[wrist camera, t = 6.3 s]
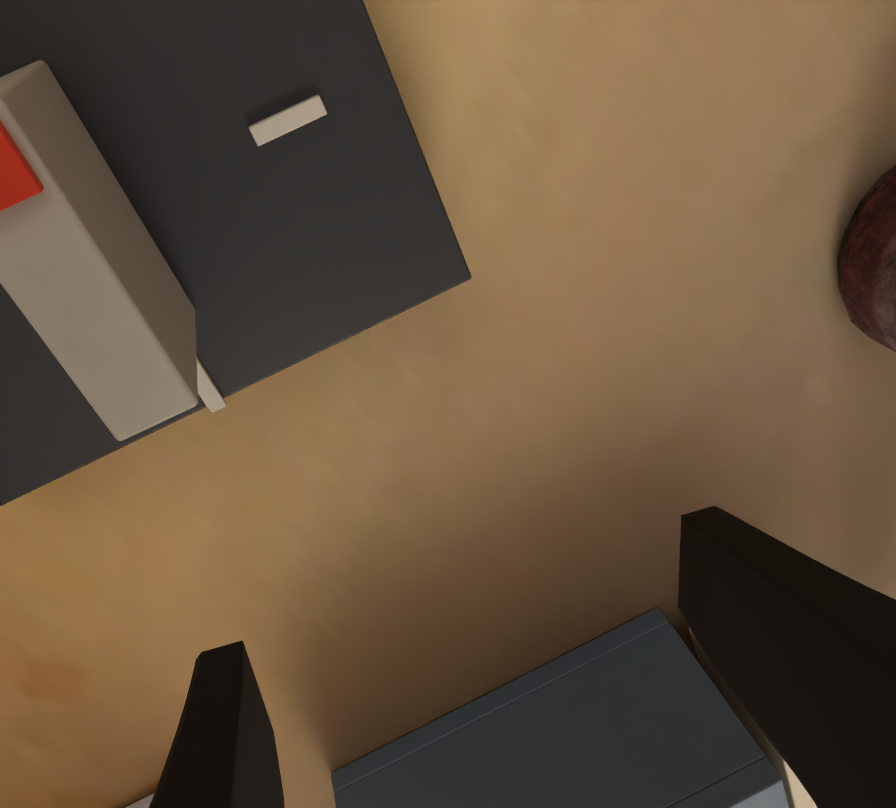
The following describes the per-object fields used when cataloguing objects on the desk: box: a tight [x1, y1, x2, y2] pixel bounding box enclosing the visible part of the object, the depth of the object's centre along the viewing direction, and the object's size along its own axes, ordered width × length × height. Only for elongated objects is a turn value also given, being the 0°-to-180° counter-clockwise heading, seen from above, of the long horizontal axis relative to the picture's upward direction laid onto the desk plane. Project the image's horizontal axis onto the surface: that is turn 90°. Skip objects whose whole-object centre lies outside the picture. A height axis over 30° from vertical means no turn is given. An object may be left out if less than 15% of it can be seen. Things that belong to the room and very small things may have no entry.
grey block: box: [0, 60, 198, 441], centre depth 13 cm, size 5×1×4 cm, turn 21°
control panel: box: [0, 0, 471, 506], centre depth 16 cm, size 12×9×3 cm
